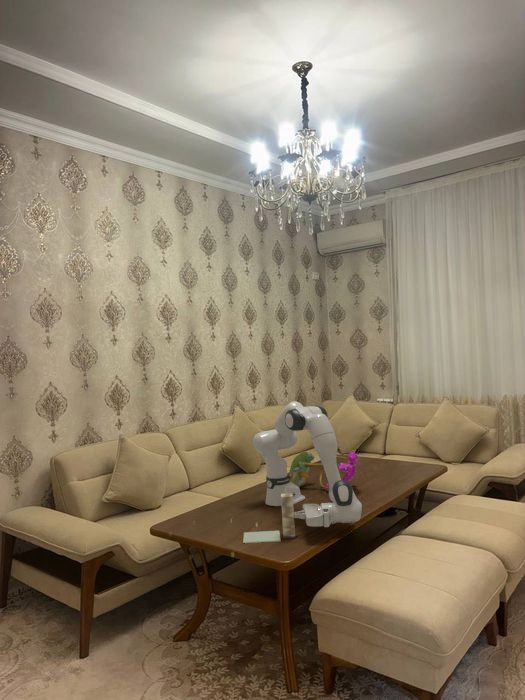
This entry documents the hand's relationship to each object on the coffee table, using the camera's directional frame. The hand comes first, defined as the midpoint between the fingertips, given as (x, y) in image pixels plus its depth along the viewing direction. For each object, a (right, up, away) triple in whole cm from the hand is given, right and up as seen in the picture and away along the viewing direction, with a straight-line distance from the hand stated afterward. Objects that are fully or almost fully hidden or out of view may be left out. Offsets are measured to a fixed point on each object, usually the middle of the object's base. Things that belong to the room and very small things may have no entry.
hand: (294, 515), depth 230 cm
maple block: (-2, -9, 0) cm, 9 cm away
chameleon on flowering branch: (+22, -8, +66) cm, 70 cm away
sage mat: (-14, -10, 0) cm, 17 cm away
